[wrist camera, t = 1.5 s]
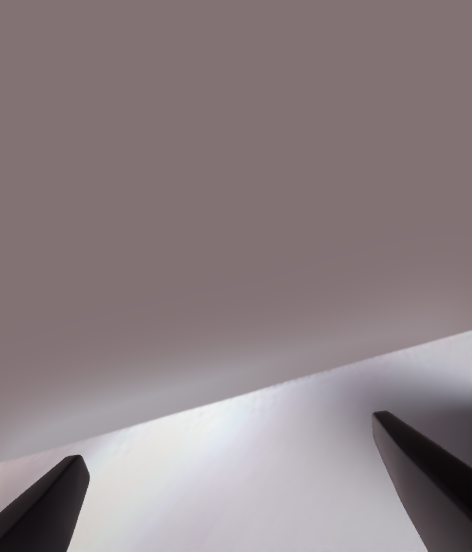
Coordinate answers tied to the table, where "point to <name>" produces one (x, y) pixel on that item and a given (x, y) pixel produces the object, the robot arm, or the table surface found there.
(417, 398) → the table surface
